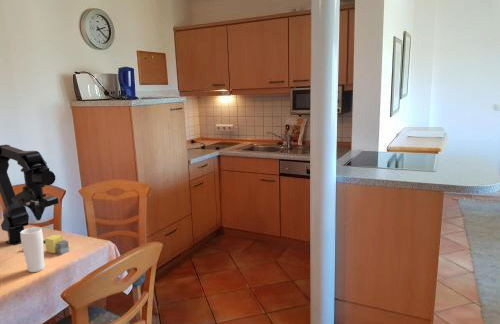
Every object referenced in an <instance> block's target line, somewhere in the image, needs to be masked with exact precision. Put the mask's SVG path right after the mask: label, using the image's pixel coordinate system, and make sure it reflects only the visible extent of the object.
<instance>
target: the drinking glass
mask: <svg viewBox="0 0 500 324" xmlns="http://www.w3.org/2000/svg"><path fill="white" fill-rule="evenodd" d="M20 236H21V247H22V251H23V255H24V259H25V263H26V268H27V271H28V272H29V273H37V272H40V271H43V270H44V269H45V256H44V255H45V251H44V250H45V249H44V244H45V243H43V240H44V233H43V229H42V227H39V226H33V227H28V228H24V230H22V231H21V232H20Z"/></svg>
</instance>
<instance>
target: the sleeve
mask: <svg viewBox="0 0 500 324" xmlns="http://www.w3.org/2000/svg"><path fill="white" fill-rule="evenodd" d="M44 240H45V243H46V244H45V243H44V244H45V248H46V252H47V253H51V254H57V249H56V243H58V242H61V241H63V240H64V239H63V235H59V234H53V235H50V236H48V237H45V238H44Z"/></svg>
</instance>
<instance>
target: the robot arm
mask: <svg viewBox="0 0 500 324" xmlns="http://www.w3.org/2000/svg"><path fill="white" fill-rule="evenodd" d="M10 160H13V161H15V162H17V165H18V166H20V167H21V170H20V172H23V178H24V186H22V191H21V192H19V193H17V194H16V192H15V190H14V188H13V185H12V183H11V182H12V181H11V179H10V177H9V173H8V169H9V167H10V163H9V161H10ZM55 182H56V175H55V173H54V172H53V171H51V170H50V167H48V163H47V162H46V161H45V159H44V157H43V155H42V154H41V153H40V152H39V151H38V150H23V149H19V148H17V147H13V146H11V145H10V144H1V145H0V196H1V199H2V203H3V205H4V210H3V211H4V212H3V220H2V222H1V225H0V227H1V230H2V231H5V232H7V236H8V240H6V241H5V243H6V244H9V245H18V244H20V243H21V236H20V232H21V231H22V230H24V229H25V227H26V226H29V221H30V216H29V213H28V211H27V208H28V209H29V210H30V211H31V213H32V214H33V216H34V218H35V220H36V221H37V222H38V221H41V220H42V216H43V215H44V212H45V210H46V208H48V207H51V206H54V205H57V204H59V197H57V196H53V195H48V196H47V194H46V193H44V189H43V188H45V186H52V185H53V184H54V183H55ZM26 207H27V208H26ZM21 244H22V243H21Z"/></svg>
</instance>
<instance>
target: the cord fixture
mask: <svg viewBox="0 0 500 324" xmlns="http://www.w3.org/2000/svg"><path fill="white" fill-rule="evenodd" d="M68 241H69V240H65V239H63V241H61V242H58V243H56V249H57V252H56V254H57V255H61V256H62V255H64V254H66V253H69V252H70V248H69V242H68ZM43 243H44V244H45V245H46V243H45V239H43Z"/></svg>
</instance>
